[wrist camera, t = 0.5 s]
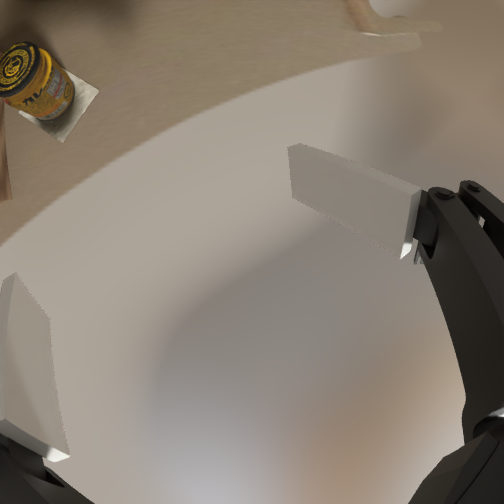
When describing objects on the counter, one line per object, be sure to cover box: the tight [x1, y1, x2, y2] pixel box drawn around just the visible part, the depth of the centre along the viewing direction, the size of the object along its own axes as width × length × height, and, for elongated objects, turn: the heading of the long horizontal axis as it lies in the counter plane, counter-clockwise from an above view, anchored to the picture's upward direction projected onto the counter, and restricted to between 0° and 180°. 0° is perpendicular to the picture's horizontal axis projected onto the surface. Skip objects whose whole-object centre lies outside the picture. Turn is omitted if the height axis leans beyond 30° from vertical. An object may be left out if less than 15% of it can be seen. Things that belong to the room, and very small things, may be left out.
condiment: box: [0, 42, 99, 143], centre depth 19 cm, size 7×8×12 cm
